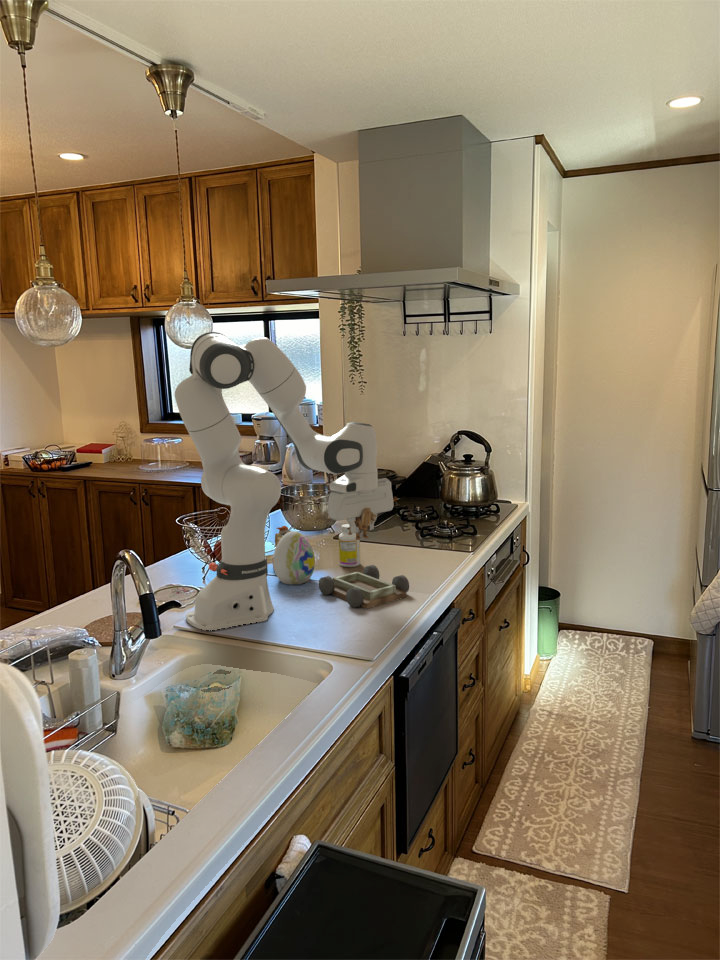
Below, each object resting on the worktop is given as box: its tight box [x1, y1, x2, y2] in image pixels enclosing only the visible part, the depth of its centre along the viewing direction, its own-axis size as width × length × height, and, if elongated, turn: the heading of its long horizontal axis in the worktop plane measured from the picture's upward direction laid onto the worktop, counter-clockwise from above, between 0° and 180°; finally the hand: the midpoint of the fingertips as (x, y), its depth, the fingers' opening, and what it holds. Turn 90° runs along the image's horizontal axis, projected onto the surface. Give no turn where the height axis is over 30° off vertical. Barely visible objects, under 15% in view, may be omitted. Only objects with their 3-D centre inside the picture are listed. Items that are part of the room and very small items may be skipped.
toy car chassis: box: [318, 564, 410, 610], centre depth 201 cm, size 18×20×5 cm
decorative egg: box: [272, 530, 316, 585], centre depth 213 cm, size 12×12×15 cm
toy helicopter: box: [272, 525, 292, 572], centre depth 230 cm, size 8×21×14 cm, turn 16°
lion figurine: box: [347, 508, 378, 541], centre depth 201 cm, size 15×5×9 cm, turn 27°
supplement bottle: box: [338, 523, 361, 568], centre depth 228 cm, size 7×7×13 cm
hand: (362, 531), depth 198 cm, fingers closed on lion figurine, 4 cm apart
